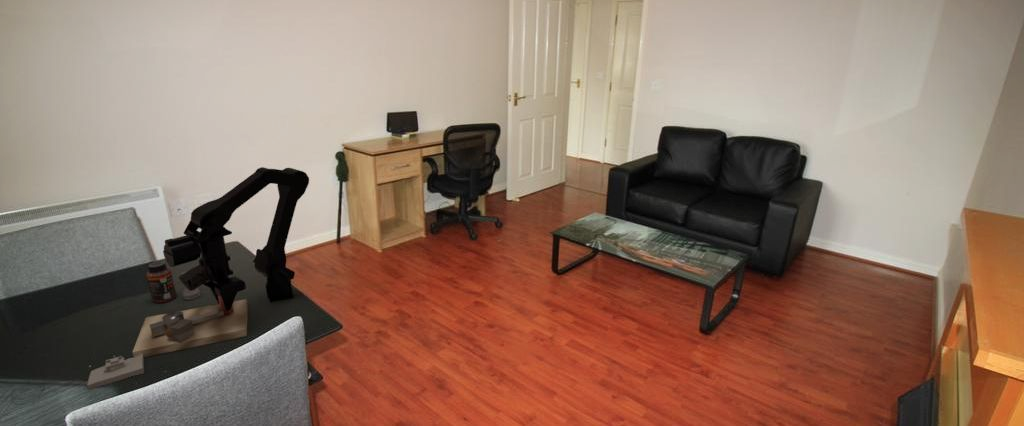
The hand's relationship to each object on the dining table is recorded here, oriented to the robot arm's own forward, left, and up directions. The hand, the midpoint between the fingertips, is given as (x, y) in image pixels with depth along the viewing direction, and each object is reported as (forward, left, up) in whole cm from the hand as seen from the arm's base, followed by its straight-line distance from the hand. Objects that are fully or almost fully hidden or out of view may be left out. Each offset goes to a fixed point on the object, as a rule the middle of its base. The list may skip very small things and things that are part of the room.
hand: (224, 306), depth 134 cm
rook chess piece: (+10, -18, -4) cm, 21 cm away
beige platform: (+22, +14, -5) cm, 26 cm away
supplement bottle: (+17, -20, -4) cm, 27 cm away
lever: (+7, +3, -1) cm, 8 cm away
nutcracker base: (+7, +2, -4) cm, 8 cm away
